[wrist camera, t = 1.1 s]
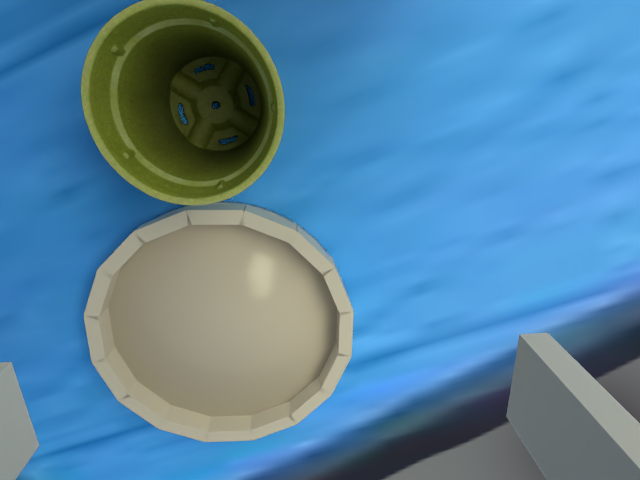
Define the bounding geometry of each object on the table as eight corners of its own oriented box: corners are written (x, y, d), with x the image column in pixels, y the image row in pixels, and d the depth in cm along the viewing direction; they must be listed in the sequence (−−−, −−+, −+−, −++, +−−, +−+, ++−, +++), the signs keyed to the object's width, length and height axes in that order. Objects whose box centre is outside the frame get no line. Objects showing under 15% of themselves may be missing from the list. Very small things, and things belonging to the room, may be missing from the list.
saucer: (82, 200, 30) (64, 209, 27) (353, 201, 31) (358, 210, 28) (118, 422, 36) (106, 445, 33) (343, 415, 37) (347, 437, 34)
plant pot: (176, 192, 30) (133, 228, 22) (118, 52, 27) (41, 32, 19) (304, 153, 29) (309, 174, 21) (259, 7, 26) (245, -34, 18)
